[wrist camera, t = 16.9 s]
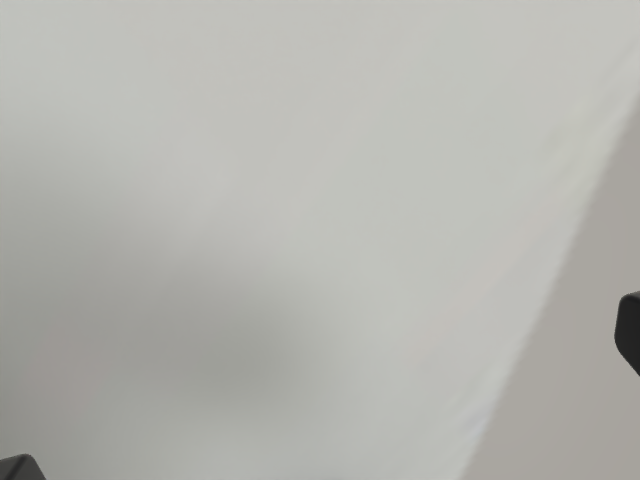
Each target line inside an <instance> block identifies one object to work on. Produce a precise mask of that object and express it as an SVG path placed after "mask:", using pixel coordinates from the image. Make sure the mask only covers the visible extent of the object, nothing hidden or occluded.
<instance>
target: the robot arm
mask: <svg viewBox="0 0 640 480" xmlns="http://www.w3.org/2000/svg"><path fill="white" fill-rule="evenodd" d="M614 338H615V343H616V346H617V348H618V350H619V352H620V353H621V355H622V356H623V357H624V358H625V360H626V361H627V362H628V363H629V364H630V366H632V368H633V369H634V370H635V371H636V372H637V374H638V375H639V376H640V291H638V292H634V293H630V294H627V295H625V296H623V297H622V298H621V300H620V302H619V307H618V314H617V321H616V327H615V334H614ZM0 480H46V478H45V477H44V475H43V473H42V472H41V470H40V468H39V466H38V465H37V463H36V461H35V460H34V458H33V457H32V456H31V455H29V454H21V455H17V456H14V457H10V458H6V459H2V460H0Z"/></svg>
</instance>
